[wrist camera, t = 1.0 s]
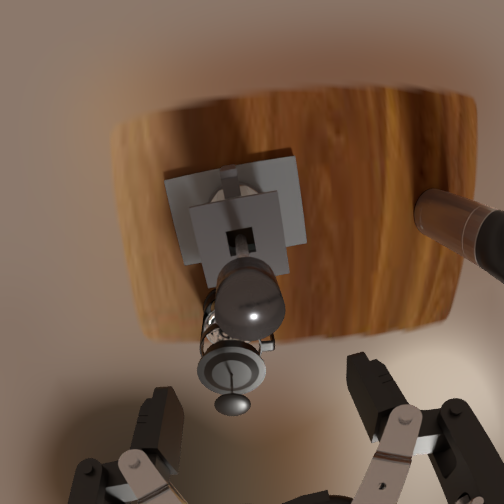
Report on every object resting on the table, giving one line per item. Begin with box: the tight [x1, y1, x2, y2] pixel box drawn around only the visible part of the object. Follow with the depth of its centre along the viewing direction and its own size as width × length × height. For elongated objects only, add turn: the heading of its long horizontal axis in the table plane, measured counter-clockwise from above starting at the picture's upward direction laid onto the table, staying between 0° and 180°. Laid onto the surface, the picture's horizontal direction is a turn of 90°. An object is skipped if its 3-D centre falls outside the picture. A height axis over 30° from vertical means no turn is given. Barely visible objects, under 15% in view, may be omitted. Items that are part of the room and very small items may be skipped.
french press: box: [197, 289, 275, 416], centre depth 42 cm, size 12×9×23 cm
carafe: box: [189, 164, 289, 288], centre depth 38 cm, size 9×12×15 cm
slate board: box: [164, 156, 307, 266], centre depth 46 cm, size 20×14×1 cm
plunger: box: [215, 234, 285, 341], centre depth 26 cm, size 4×4×15 cm
